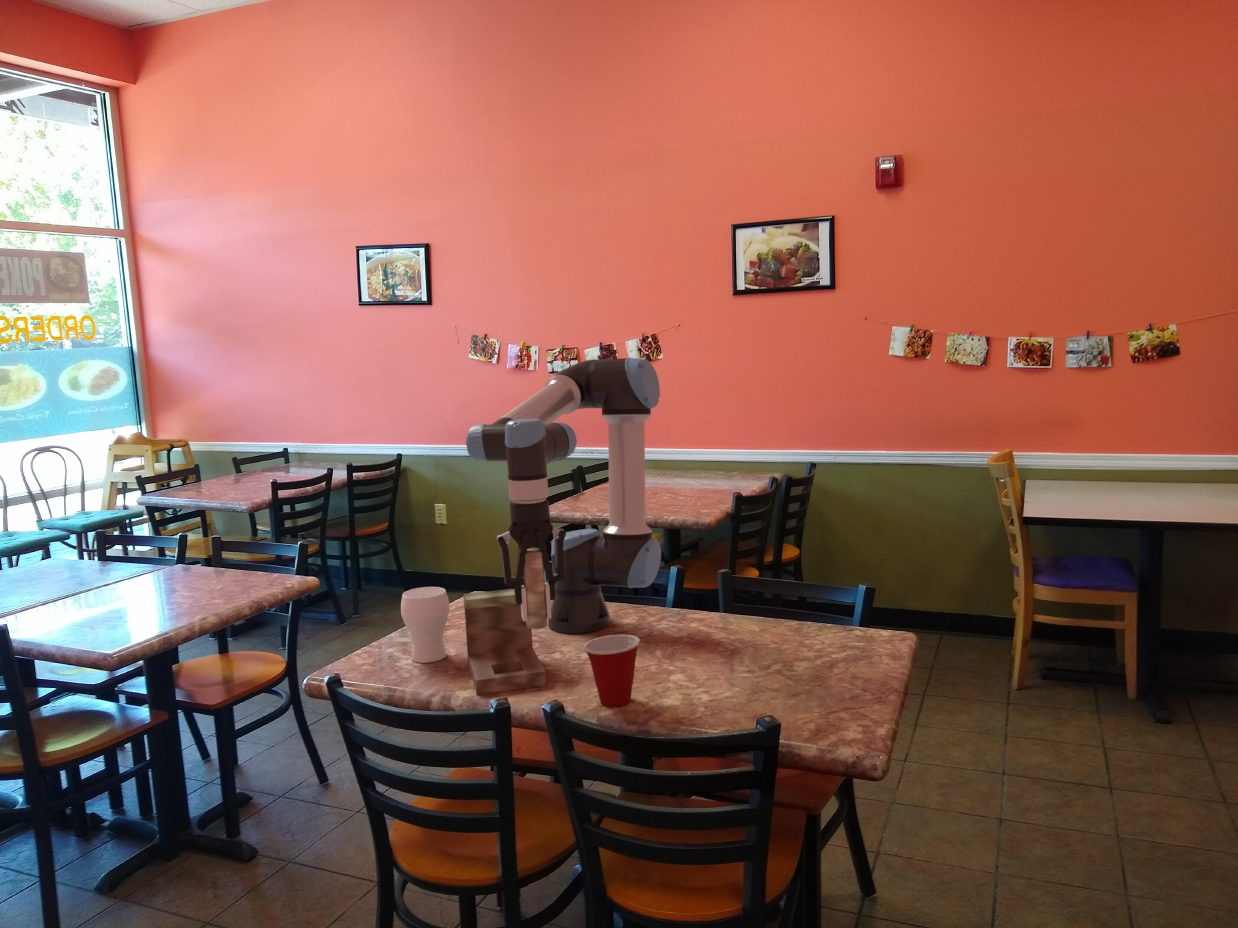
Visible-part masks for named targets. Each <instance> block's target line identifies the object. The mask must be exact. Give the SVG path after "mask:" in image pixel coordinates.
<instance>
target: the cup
mask: <svg viewBox="0 0 1238 928" xmlns="http://www.w3.org/2000/svg"><path fill="white" fill-rule="evenodd" d="M447 593H448V592H447V591H446V589H445V588H444V587H440V586H425V587H424V586H423V587H416V588H411V589H409V590H407V591H403V593H402V596H401V602H400V615H401V618H402V621H403V622H404V625H405V627H406V628H407V630H408V632H409V633H410V637H411V638H410V639H411V642H412V646H411V655H410V656H411V657H410V658H411V661H412V662H415V663H421V664H422V663H425V664H426V663H432V662H438V661H441V660H442V659H445V658H446V656H447V653H446V646H445V643H444V629H445V627H446V625H447V622H448V619H449V615H450V600H449V597H448V594H447Z"/></svg>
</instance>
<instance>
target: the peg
mask: <svg viewBox="0 0 1238 928" xmlns="http://www.w3.org/2000/svg"><path fill="white" fill-rule="evenodd" d="M523 585H524V587H525V588H526V604H527V619H528V621H526V623H527V628H529V629H532V630H540V629H544V628H546V627H548V619H547V613H546V597H545V571H544V564H543V559H542V553H541V552H540V550H539V549H538V548H529V549H527V553H526V554H525V565H524V572H523Z"/></svg>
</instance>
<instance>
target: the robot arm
mask: <svg viewBox="0 0 1238 928" xmlns="http://www.w3.org/2000/svg"><path fill="white" fill-rule="evenodd" d="M660 389H661V388H660V381H659V377H658V374H657V372H656V369H655V367H654V366H653V363H652V362H650V361H649V360H647V359H645V358H641V357H639V358H635V357H627V358H625V357H624V358H608V359H605V358H604V359H587V360H583V361H580V362H578V363H574V364H572V365H570V366H568V367H566V368H564V369H562V370H560V371H559V372H557V373H555V374H554V375H552V376H550V378H549V379H547V381H546V382H545V384H544V387H543V388H541V389H540V390H539V391H537V392H536V393H534V394H533V395H532V396H530V397H529V398H527V399H526V400H524V401H523V402H522V403H520V404H519V405H517V406H516V407H514V408H513V409H511V410H509V412H506V413H505V414H504V415H503V416H501V417H500V418H498V419H497V420H495V421H494V422H492V423H490V424H486V423H482V424H475V425H472V427H470V428H469V430H468V432H467V434H466V437H465V446H466V450H467V453H468V455H469V457H470V458H471V459H472V460H474V461H479V462H480V461H481V462H482V461H483V462H486V463H489V462H506V464H507V480H508V481H507V482H508V483H507V484H508V496H509V497H508V498H509V500H511V501H510V503H509V513H510V514H509V515H510V525H509V528H508V531H506V532H504V533H502V534H496V536H495V537H496V541H497V542H498V544H499V547H500V555H501V563H502V573H503V582H504V584H505V585H506V586H507V587H512V588H513V589H514V592H515V601H516V603H517V604H521V615H522V619H523V621H528V619H527V604H526V588H525V587H524V584H523V580H524V577H523V572H524V565H525V554H526V553H527V549H533V548H534V549H539V550H540V552H541V553H542V559H543V564H544V576H545V577H546V582H545V597H546V613H547V625H548V628H549V629H551V630H552V631H555V632H559V633H565V634H583V633H590V632H591V633H592V632H597V631H600V630H602V629H605V628H606V627H608V626H609V625H610V623H611V619H610V617H611V616H610V615H611V614H610V611H609V609H608V606H607V604H606V601H605V599H604V596H603V593H602V586H607V587H609V586H610V587H624V588H629V589H633V588H639V589H640V588H646V587H647V588H648V587H649V586H650V585H651V584H653V582H654V581H655V579H656V577H657V575H658V574H659V573H658V572H659V571H660V570H659V569H660V566H661V560H662V548H661V543H660V541H659V539H655V538H654V537H653V530H652V529H651V528H650V527H649V526H648V525H647V523H646V460H645V459H646V456H645V455H646V448H645V445H646V444H645V443H646V441H645V439H646V435H645V432H646V431H645V423H646V421H647V420H648V419H649V418H650V417H651V416H652V411H651V410H652V409H654V408H656V407H657V406H658V404H659V402H660V399H659V398H660V397H661V396H660V395H661V393H660V392H661V391H660ZM581 409H583V410H584V409H601V417H602V418H603V419H604V420H605V421H606V422H607V425H608V426H607V429H608V434H607V435H608V439H607V440H608V513H609V514H608V516H609V517H608V518H609V519H608V520H609V523H608V525H607V526H606V527H605V528H604V529H603V530H602V536H600V532H599V530H598V529H596V528H584V529H578V530H570V531H565V529H563V528H561V527H560V528H558V527H555V526H553V524H552V522H551V516H550V501H549V500H548V499H547V498H548V497H549V485H548V484H549V482H548V470H547V469H548V467H547V464H550V463H555V462H560V461H563V460H565V459H566V458H568V457H570V456H571V455H573V453H574V451H575V450H576V447H577V443H578V442H577V441H578V440H577V436H576V433H575V430H574V429H573V427H571V426H570V425H569V424H566V423H565V422H555V421H557V420H558V419H559V418H560V417H561V416H563V415H569V414H572V413H574V412H576V410H581ZM551 534H552V538H553V539H552V540H551V552H550V557H551V561H550V559H549V554H548V550H547V549H548V548H547V545H546V543H547V541H548V539H549V537H550V536H551ZM511 538H512V539H513V540H514V542H516V544H517V556H516V562H515V571H514V577H513V578H512V571H511V559H510V553H509V552H510V551H509V547H508V546H509V544H510V542H511V541H510V539H511ZM551 565H552V566H551ZM551 601H552V602H551Z"/></svg>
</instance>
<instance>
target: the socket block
mask: <svg viewBox="0 0 1238 928" xmlns="http://www.w3.org/2000/svg"><path fill="white" fill-rule="evenodd" d="M463 605H464V607H463V609H464V622H465V635H466V638H465V639H466V651H467V666H468V669H469V672H470V677H471V680H472V683H473V686H474V687H473V688H474V690H475V694H476V695H478V696H479V695H487V694H494V693H502V692H509V691H514V690H515V691H516V690H525V689H531V688H540V687H545V686H546V687H547V681H546V680H547V679H546V669H545V668H544V666H543V665H542V662H541V660H540V659H539V657H538V655H537V653H536V651H535V649H534V648H533V647H534V646H533V631H532V630H533V629H529V628H527V623H526V621H523V619H522V615H521V604H517V603H516V601H515V592H514V588H510V589H508V588H507V589H500V590H492V591H491V590H490V591H482V592H472V593H463Z"/></svg>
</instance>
